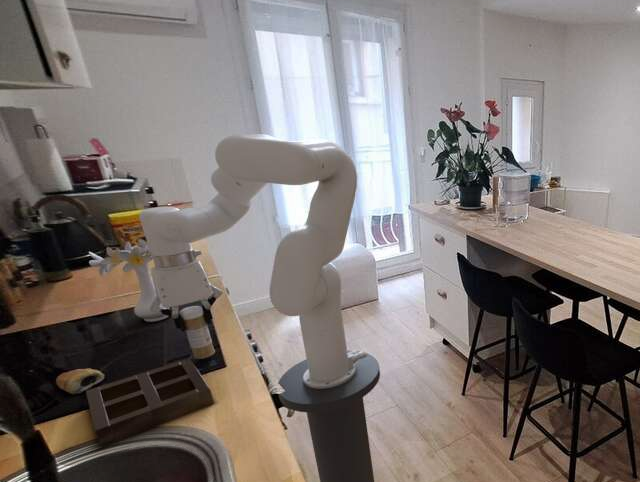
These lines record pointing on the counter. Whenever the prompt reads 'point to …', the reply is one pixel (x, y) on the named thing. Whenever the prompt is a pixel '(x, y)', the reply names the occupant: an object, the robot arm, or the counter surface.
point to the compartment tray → (146, 400)
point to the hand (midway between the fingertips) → (195, 325)
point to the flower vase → (142, 271)
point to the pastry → (79, 380)
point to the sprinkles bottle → (197, 331)
